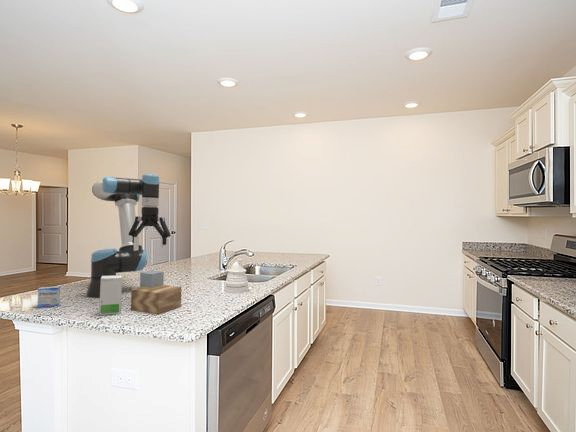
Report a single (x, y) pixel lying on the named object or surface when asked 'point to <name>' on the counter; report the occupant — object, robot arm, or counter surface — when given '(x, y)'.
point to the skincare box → (110, 295)
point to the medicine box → (48, 296)
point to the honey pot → (236, 279)
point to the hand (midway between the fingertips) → (149, 251)
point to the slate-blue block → (151, 280)
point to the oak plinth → (156, 299)
